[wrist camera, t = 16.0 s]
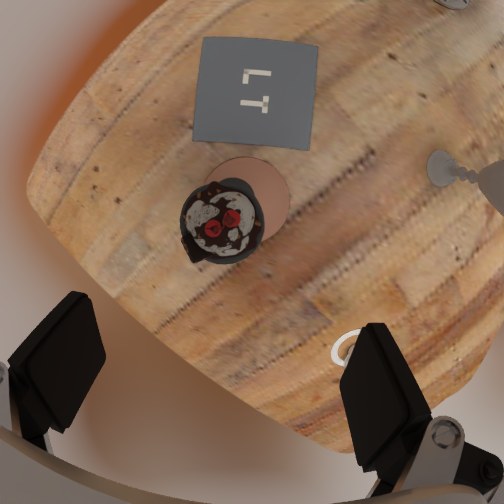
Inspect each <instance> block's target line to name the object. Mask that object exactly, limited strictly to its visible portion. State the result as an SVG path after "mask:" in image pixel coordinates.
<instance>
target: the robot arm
mask: <svg viewBox="0 0 504 504" xmlns="http://www.w3.org/2000/svg"><path fill="white" fill-rule="evenodd" d="M435 1H436V2H438V3H440V4H442V5H443V6H446V7H448V8H451V9H454V10H461V9H464V8H465V7H467V6H468V5H469V0H435ZM105 360H106V353H105V350H104V347H103V344H102V340H101V336H100V333H99V329H98V325H97V322H96V317H95V313H94V309H93V305H92V301H91V299H89V298H88V295H87V294H85V293H81V292H76V291H71V292H70V293H69V294H68V295H67V296H66V297H65V298H64V299H63V300H62V301H61V302H60V303H59V304H58V305H57V306H56V307H55V308H54V309H53V310H52V311H51V312H50V313H49V314H48V315H47V316H46V318H44V319H43V320H42V321H41V322H40V324H39V325H38V326H37V327H36V328H35V329H34V330H33V331H32V332H31V333H30V335H29V336H28V337H27V338H26V339H25V340H24V341H23V342H22V344H21V345H20V346H19V347H18V348H17V349H16V351H15V352H14V353H13V354H12V355H11V357H10V358H9V359H8V363H9V364H10V367H9V369H7V367H6V365H5V364H4V363H2V362H0V504H208V503H201V502H195V501H189V500H183V499H178V498H173V497H168V496H164V495H160V494H155V493H151V492H148V491H144V490H140V489H137V488H133V487H130V486H127V485H124V484H121V483H117V482H115V481H112V480H109V479H106V478H103V477H101V476H98V475H96V474H93V473H91V472H88V471H86V470H83V469H81V468H78V467H76V466H74V465H72V464H70V463H68V462H65V461H64V460H62V459H59V458H58V457H56V456H54V454H53V450H52V447H51V444H50V439H49V435H48V429H49V427H51V428H52V429H54V430H55V431H58V432H60V433H62V434H63V433H64V431H65V429H66V428H69V427H70V425H71V424H72V422H73V419H74V418H75V416H76V414H77V412H78V410H79V408H80V406H81V404H82V402H83V400H84V399H85V397H86V395H87V393H88V391H89V389H90V387H91V386H92V384H93V382H94V380H95V379H96V377H97V375H98V373H99V372H100V370H101V368H102V366H103V365H104V363H105ZM340 392H341V396H342V400H343V404H344V408H345V412H346V416H347V420H348V424H349V429H350V433H351V437H352V442H353V446H354V450H355V455H356V460H357V463H358V465H359V466H362V468H363V472H364V473H365V472H371V471H377V475H378V479H377V480H376V482H375V484H374V486H373V487H372V488H371V490H370V492H369V493H368V495H367V496H366V498H365V499H360V500H355V501H348V502H341V503H333V504H504V475H503V474H504V468H503V464H502V462H501V460H500V459H499V458H498V457H497V456H496V455H494V454H491V453H489V452H487V451H485V450H482V449H480V448H478V447H476V446H474V445H471V444H469V443H467V442H465V440H464V439H465V434H464V430H463V428H462V426H461V425H460V424H459V422H457V420H455V419H453V418H451V417H448V416H438V417H436V418H434V419H433V418H432V416H431V410H430V408H429V406H428V404H427V402H426V400H425V398H424V396H423V394H422V392H421V390H420V388H419V386H418V384H417V382H416V380H415V378H414V376H413V374H412V372H411V370H410V368H409V366H408V364H407V362H406V360H405V359H404V357H403V355H402V353H401V351H400V349H399V347H398V346H397V344H396V342H395V340H394V338H393V337H392V335H391V333H390V331H389V330H388V328H387V326H386V325H385V323H368V324H367V325H366V327H362V328H361V330H360V333H359V336H358V338H357V341H356V344H355V346H354V349H353V351H352V354H351V356H350V359H349V361H348V363H347V366H346V368H345V370H344V373H343V375H342V377H341V380H340Z"/></svg>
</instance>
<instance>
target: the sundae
mask: <svg viewBox="0 0 504 504" xmlns="http://www.w3.org/2000/svg"><path fill="white" fill-rule="evenodd" d="M180 229H181V233H182V236H183V237H182V238H181V242H182V244H183V246H184V249H185V251H186V252H187V254H188V256H189V257H190V260H191V262H192V263H197V262H199V261H202V260H204V259H205V260H207V261H209V262H212V263H216V264H233V263H236V262H238V261H241V260H243V259H245V258H246V257H248V256H249V255H250V254H251V253H253V252H254V251H255V249H256V248H257V247H258V246H259V244H260V243H261V240H262V238H263V234H264V231H265V221H264V214H263V211H262V208H261V206H260V203H259V201H258V200H257V198H256V197H255V194H254V191H253V189H252V188H251V186H250V185H249V184H248V183H247V182H246V181H244V180H242V179H239V178H236V177H234V178H226V179H223V180H221V181H220V182H217V181H212V182H211V183H210V184H207V185H204V186H202V187H200V188H198V189H196V190H195V191H194V192H193V193H191V195H190V196H189V197H188V198H187V200H186V202H185V203H184V205H183V208H182V211H181V216H180Z"/></svg>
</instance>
